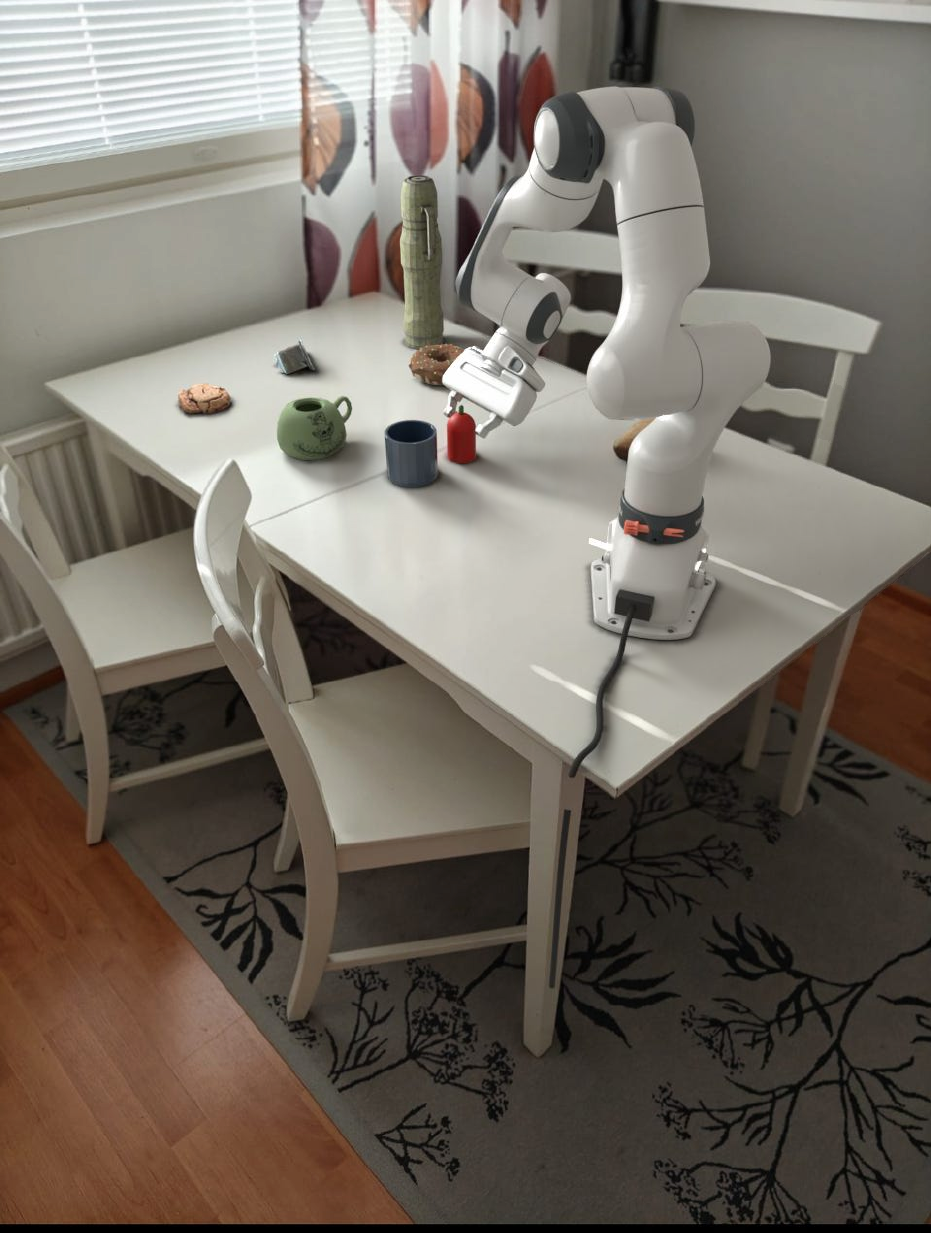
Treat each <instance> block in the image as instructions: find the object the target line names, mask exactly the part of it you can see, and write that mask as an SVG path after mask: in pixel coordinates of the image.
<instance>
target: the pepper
mask: <svg viewBox="0 0 931 1233" xmlns="http://www.w3.org/2000/svg"><path fill="white" fill-rule="evenodd" d="M464 410H465V408H464V405H463V404H459V406H458V411H457V412H458V413H455V414H454V415H452V416H451V417H450V418H448V421H447V424H446V448H447V449H446V450H447V451H446V452H447V459H448V460H449V461H450V462H451V463H456V464H468V463H472V462H473V461H474V460H476V458H477V434H476V433H475V430H476V429H477V424H476V421H475V419H474V417H473V416H471V414H469V413H467V412H465V411H464Z"/></svg>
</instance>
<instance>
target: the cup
mask: <svg viewBox="0 0 931 1233" xmlns="http://www.w3.org/2000/svg"><path fill="white" fill-rule="evenodd" d="M384 447H385V448H384V449H385V463H386V477H387V479H388V481H390V483H392V484H393V485H396V486H399V487H401V488H421V487H425V486H428V485H430V484H432V483H433V482H434V481H436V479H437V478H438V475H439V467H438V464H439V463H438V432H437V428H436V426H434V425H433V424H432V423H430V422H427V421H425V420H418V419H405V420H400V421H396V422H394V423H390V425H388V426H387V427H386V428H385V430H384Z"/></svg>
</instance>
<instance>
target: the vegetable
mask: <svg viewBox="0 0 931 1233" xmlns="http://www.w3.org/2000/svg"><path fill="white" fill-rule="evenodd" d="M654 419H655V418H651V419H646V420H638V421H637V422H635V424H633V425H632V426H631V427H630V428H629V429H627V431H625V433H623V434H622V436H620V437H619V438H618V439H617V440H615V441H614V442H613V445H612V446H613V447H612V449H613V452H614V454H615V456H616V457H617V458H618V459H620V460H622V461H628V453H629V448H630V446H631V444H632V442H633V440H634V438H635V437H636V436H637V435H638V434H639V433H640V432H641V431H642V430H643V429H644V428H646V427H647V426H648V425H649V424H650V423H651V422H653V420H654Z"/></svg>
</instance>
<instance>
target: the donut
mask: <svg viewBox="0 0 931 1233" xmlns="http://www.w3.org/2000/svg"><path fill="white" fill-rule="evenodd" d="M464 351H465V349H463V348H462V347H461V346H457V345H455V344H452V343H450V344H447V343H445V344H444V343H443V344H441V345H434V346H432V345H430V346H425V347H423V348H422V347H421V348H420V349H417V350H416V351H415V352H414V353H413V354H412V355H411V357H410V364H408V368H409V369H410V372H411V374H412V376H413V377H414V378H417V379H418V380H419V381H421V382H423V383H424V384H428V385H434V386H445V385H444V384H443V383H442V379H443V375H444V374H445V372H446V371H447V370H448V368H449V367H450V366H451V365H452V363H453V362H454V361H455V360H456V359H457V358H458V356H459V355H461V354H462V353H463V352H464Z"/></svg>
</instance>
